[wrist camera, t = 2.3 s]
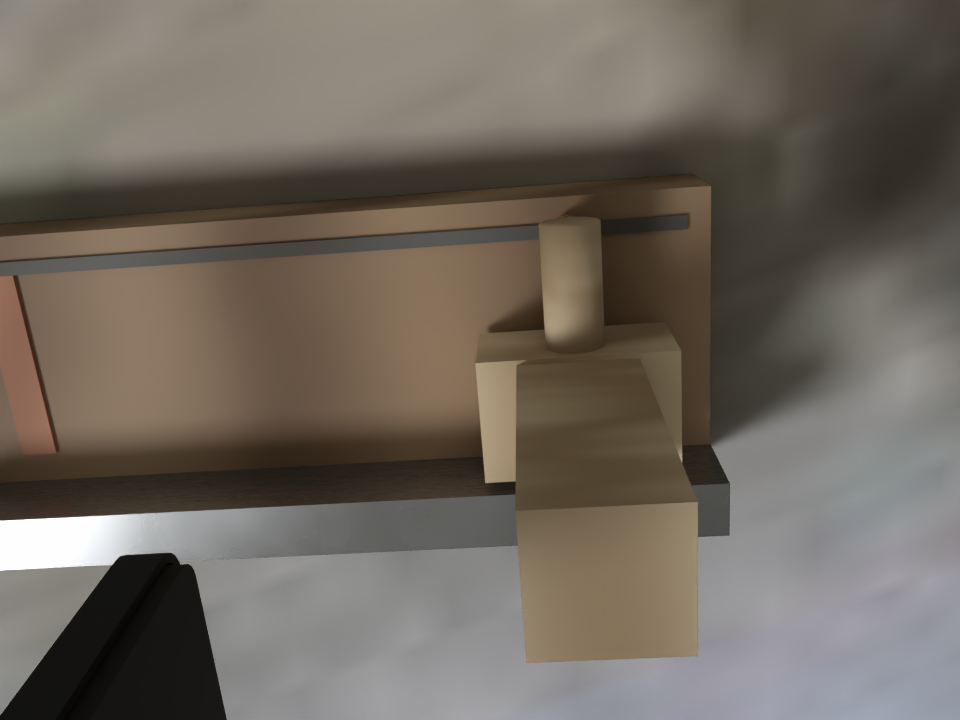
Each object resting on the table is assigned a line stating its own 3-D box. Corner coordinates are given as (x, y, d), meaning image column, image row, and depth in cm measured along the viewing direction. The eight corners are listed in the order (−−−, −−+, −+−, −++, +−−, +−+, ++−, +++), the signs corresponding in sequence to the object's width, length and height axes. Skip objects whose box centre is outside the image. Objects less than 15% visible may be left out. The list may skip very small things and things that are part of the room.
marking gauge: (664, 205, 19) (764, 306, 11) (666, 433, 20) (756, 659, 13) (470, 219, 19) (437, 327, 11) (488, 443, 20) (470, 670, 13)
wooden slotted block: (693, 174, 21) (732, 200, 17) (694, 455, 23) (729, 535, 19) (-66, 229, 22) (-191, 265, 18) (4, 492, 24) (-93, 574, 20)
